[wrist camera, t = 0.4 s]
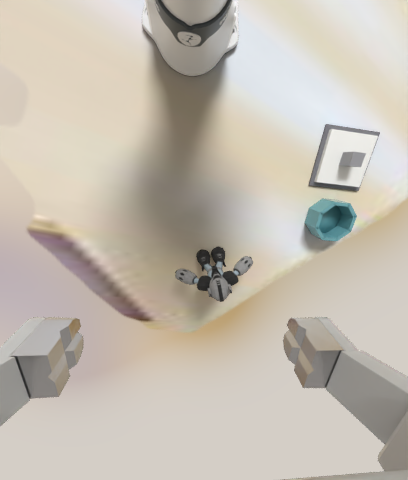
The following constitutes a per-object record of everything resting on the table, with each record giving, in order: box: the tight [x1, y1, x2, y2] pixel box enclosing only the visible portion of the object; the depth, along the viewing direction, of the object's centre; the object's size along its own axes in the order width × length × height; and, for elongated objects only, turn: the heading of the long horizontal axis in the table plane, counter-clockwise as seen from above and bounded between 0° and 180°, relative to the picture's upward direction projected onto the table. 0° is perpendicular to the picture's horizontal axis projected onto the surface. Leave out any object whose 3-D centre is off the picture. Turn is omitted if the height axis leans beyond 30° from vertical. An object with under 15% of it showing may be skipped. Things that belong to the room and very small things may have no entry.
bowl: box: [305, 199, 357, 241], centre depth 55 cm, size 10×10×5 cm
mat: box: [309, 124, 380, 191], centre depth 52 cm, size 14×14×1 cm
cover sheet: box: [314, 129, 378, 187], centre depth 49 cm, size 12×12×4 cm
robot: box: [175, 247, 253, 302], centre depth 49 cm, size 20×5×20 cm, turn 100°
